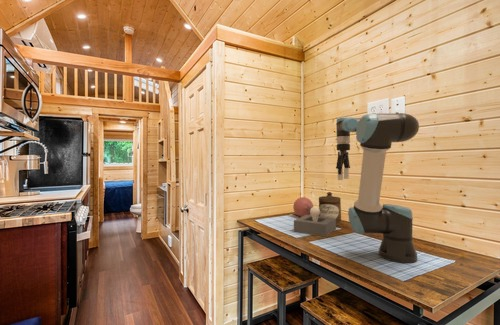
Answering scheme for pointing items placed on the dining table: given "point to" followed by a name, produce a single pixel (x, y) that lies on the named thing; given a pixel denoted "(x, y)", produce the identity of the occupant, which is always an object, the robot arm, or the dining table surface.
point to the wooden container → (330, 207)
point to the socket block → (315, 225)
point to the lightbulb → (315, 213)
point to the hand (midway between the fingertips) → (343, 179)
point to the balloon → (302, 206)
